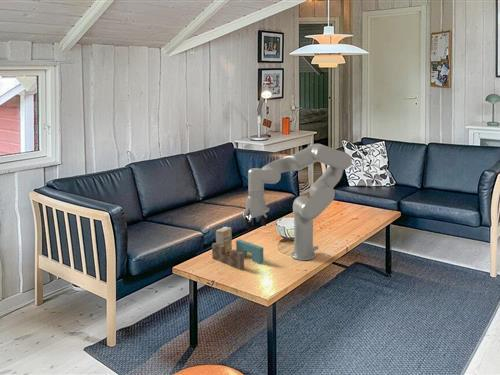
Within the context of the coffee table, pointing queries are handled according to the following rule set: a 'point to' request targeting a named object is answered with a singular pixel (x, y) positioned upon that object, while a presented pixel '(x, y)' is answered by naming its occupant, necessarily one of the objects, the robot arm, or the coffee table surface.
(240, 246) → the teal plate
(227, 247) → the supplement box
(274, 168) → the robot arm
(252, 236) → the coffee table surface
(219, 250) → the brown flat notched block
